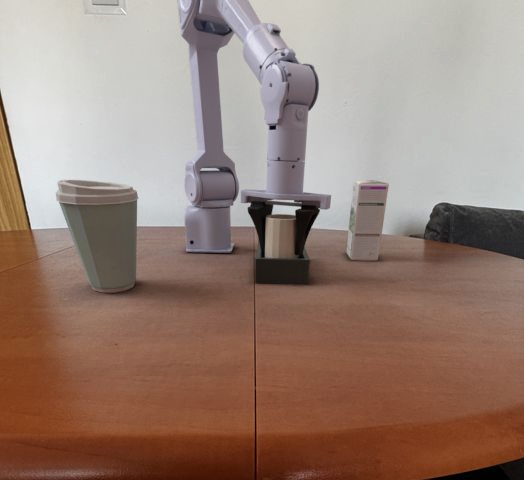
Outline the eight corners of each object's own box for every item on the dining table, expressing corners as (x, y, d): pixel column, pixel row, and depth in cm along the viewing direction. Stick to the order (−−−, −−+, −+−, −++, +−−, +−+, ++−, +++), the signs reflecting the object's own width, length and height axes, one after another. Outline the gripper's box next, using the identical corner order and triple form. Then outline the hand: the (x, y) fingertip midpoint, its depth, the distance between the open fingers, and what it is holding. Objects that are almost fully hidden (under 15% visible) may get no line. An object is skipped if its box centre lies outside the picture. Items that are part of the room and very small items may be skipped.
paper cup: (259, 267, 63) (260, 217, 59) (272, 260, 67) (274, 213, 64) (290, 272, 61) (293, 220, 57) (302, 264, 65) (305, 215, 62)
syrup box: (378, 261, 76) (391, 182, 69) (349, 260, 76) (359, 181, 69) (371, 254, 81) (383, 180, 74) (344, 253, 81) (353, 179, 74)
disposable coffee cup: (145, 274, 64) (133, 178, 57) (153, 294, 55) (140, 183, 48) (77, 280, 61) (55, 178, 54) (74, 302, 52) (47, 184, 45)
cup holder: (255, 283, 61) (255, 258, 59) (258, 258, 76) (258, 237, 74) (307, 284, 61) (309, 259, 59) (300, 259, 76) (302, 238, 74)
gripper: (339, 162, 57) (330, 251, 64) (254, 159, 63) (253, 242, 69) (327, 162, 52) (318, 261, 58) (234, 159, 57) (235, 250, 63)
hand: (281, 251), depth 63 cm, fingers closed on paper cup, 5 cm apart
